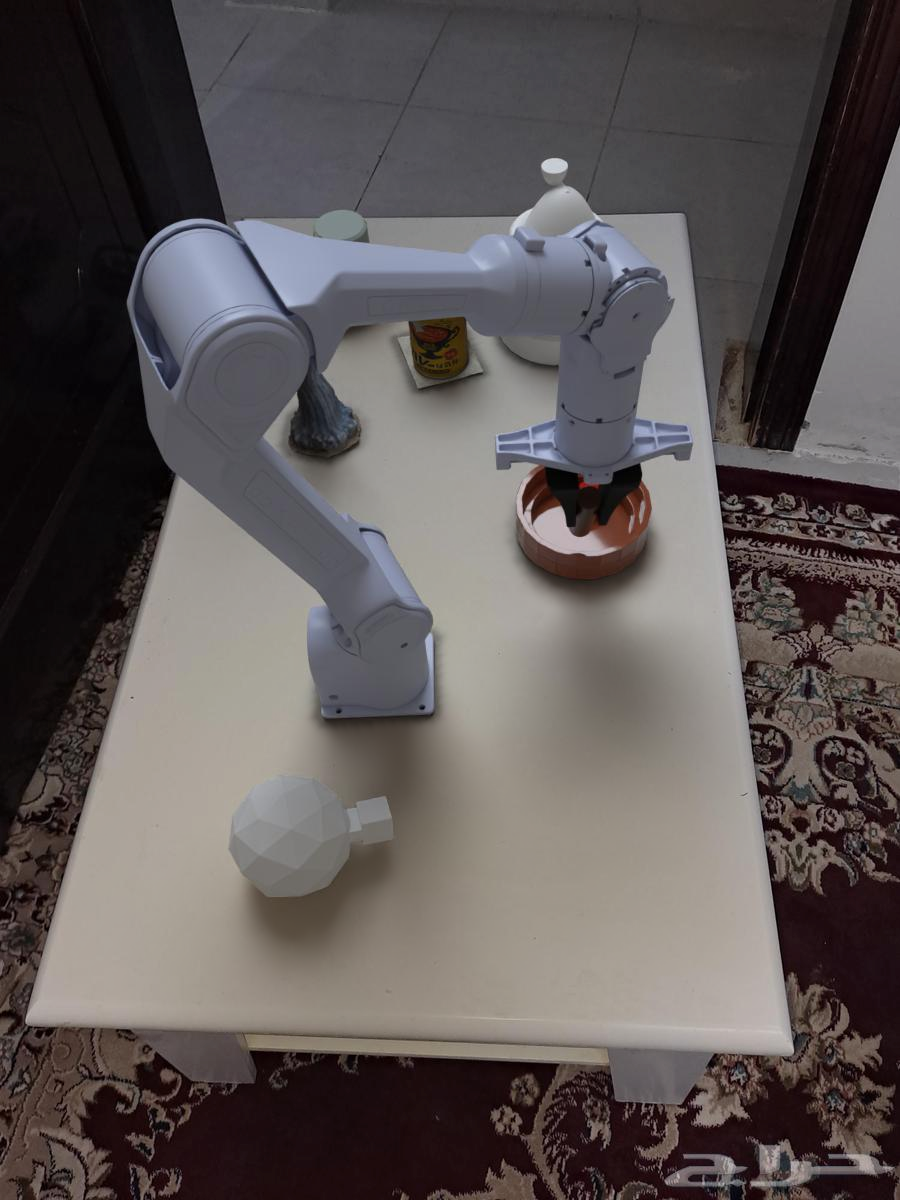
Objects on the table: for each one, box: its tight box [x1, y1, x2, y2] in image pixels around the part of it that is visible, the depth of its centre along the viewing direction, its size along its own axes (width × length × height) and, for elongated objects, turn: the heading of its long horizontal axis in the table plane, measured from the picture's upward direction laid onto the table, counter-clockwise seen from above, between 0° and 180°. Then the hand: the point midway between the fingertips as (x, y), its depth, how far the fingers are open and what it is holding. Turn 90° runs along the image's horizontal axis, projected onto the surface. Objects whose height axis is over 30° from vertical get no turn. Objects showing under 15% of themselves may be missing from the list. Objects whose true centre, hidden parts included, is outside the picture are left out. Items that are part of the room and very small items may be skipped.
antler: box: [287, 361, 362, 459], centre depth 92 cm, size 12×8×25 cm
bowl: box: [515, 465, 653, 580], centre depth 92 cm, size 12×12×4 cm
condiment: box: [396, 317, 484, 389], centre depth 103 cm, size 7×8×12 cm
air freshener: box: [312, 209, 372, 244], centre depth 110 cm, size 11×8×10 cm
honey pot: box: [500, 157, 604, 366], centre depth 103 cm, size 13×13×18 cm
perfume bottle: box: [228, 774, 394, 898], centre depth 74 cm, size 9×9×12 cm
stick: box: [569, 486, 602, 537], centre depth 82 cm, size 2×2×8 cm
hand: (585, 517), depth 81 cm, fingers closed on stick, 2 cm apart
